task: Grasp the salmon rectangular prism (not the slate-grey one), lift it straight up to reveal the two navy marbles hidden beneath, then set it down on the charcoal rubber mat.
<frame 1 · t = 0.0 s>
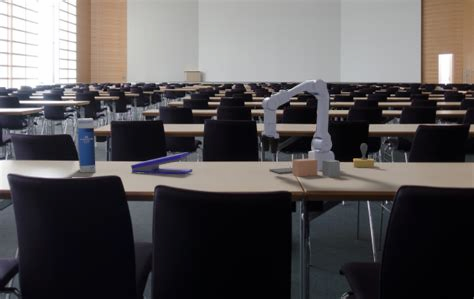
hand: (270, 152, 249), 10 cm above the table, fingers open, 7 cm apart
marble 1: (308, 174, 246), on the table
charcoal mat: (285, 171, 255), on the table
stapler: (161, 172, 259), on the table
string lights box: (87, 171, 264), on the table
rubber stamp: (363, 167, 268), on the table
grey rectangular block: (330, 176, 242), on the table
marble 2: (301, 175, 245), on the table
salmon rectangular prism: (304, 174, 245), on the table
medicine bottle: (317, 165, 275), on the table
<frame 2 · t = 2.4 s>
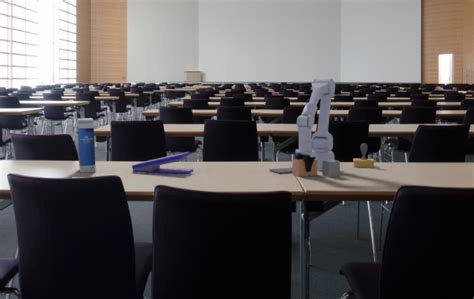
hand: (304, 170, 245), 2 cm above the table, fingers closed on salmon rectangular prism, 6 cm apart
salmon rectangular prism: (304, 174, 245), on the table, touching gripper
everything else where it was.
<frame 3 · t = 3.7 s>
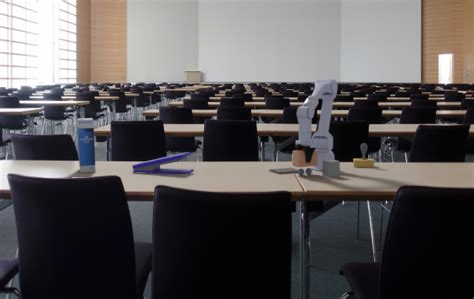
hand: (305, 161, 245), 6 cm above the table, fingers closed on salmon rectangular prism, 6 cm apart
salmon rectangular prism: (304, 165, 245), point 4 cm above the table, touching gripper
everything else where it was.
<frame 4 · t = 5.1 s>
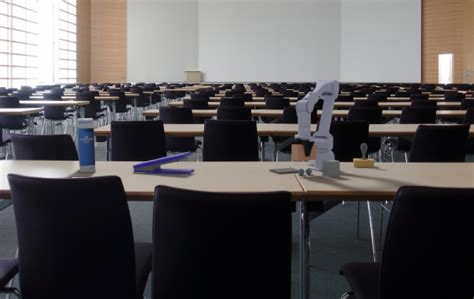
hand: (304, 155, 245), 9 cm above the table, fingers closed on salmon rectangular prism, 6 cm apart
salmon rectangular prism: (304, 159, 245), point 7 cm above the table, touching gripper
everything else where it was.
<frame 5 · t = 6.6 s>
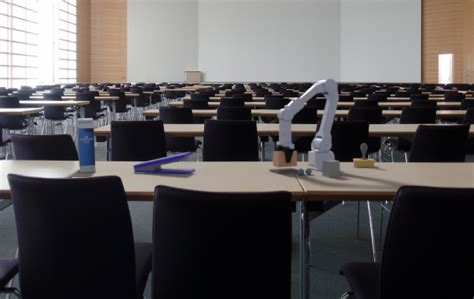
hand: (285, 162, 254), 5 cm above the table, fingers closed on salmon rectangular prism, 6 cm apart
salmon rectangular prism: (284, 165, 255), point 3 cm above the table, touching gripper
when the fingers open (4 cm above the table, at t = 7.7 s): salmon rectangular prism drops 1 cm, resting on charcoal mat.
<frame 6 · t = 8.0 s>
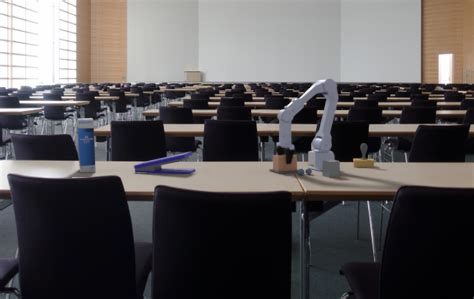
hand: (285, 162, 255), 4 cm above the table, fingers open, 7 cm apart
salmon rectangular prism: (285, 169, 255), point 1 cm above the table, touching charcoal mat
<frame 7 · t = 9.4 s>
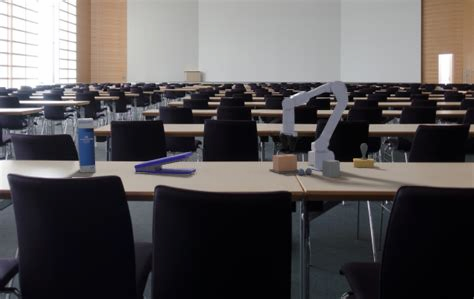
hand: (288, 149, 263), 9 cm above the table, fingers open, 7 cm apart
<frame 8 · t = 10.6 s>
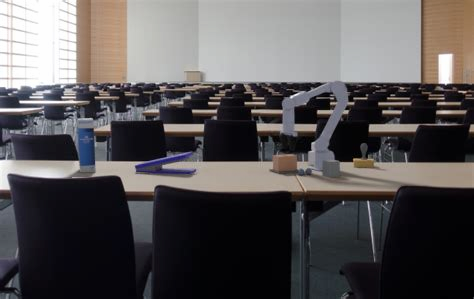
hand: (288, 149, 263), 9 cm above the table, fingers open, 7 cm apart
at the end: salmon rectangular prism 0.1 cm off-centre on the charcoal mat, point 0.8 cm above the charcoal mat's base; salmon rectangular prism tilted 0°; grey rectangular block moved 0.0 cm from its start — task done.
